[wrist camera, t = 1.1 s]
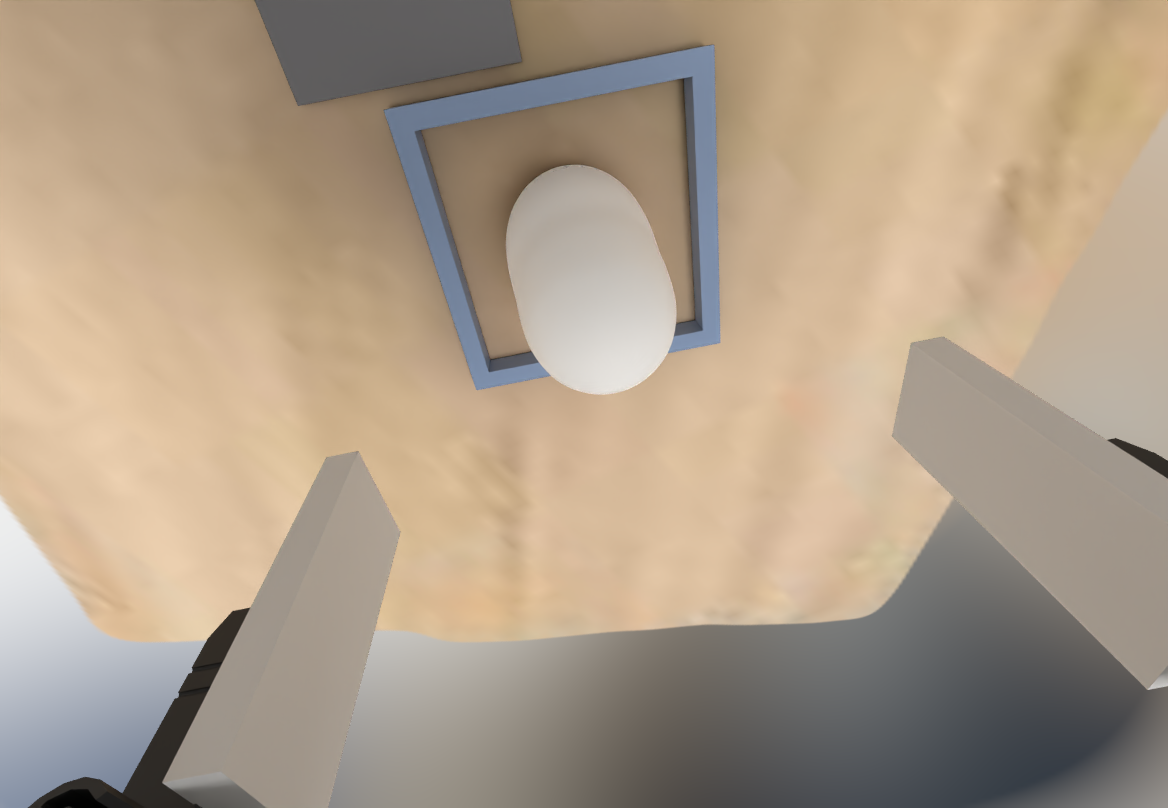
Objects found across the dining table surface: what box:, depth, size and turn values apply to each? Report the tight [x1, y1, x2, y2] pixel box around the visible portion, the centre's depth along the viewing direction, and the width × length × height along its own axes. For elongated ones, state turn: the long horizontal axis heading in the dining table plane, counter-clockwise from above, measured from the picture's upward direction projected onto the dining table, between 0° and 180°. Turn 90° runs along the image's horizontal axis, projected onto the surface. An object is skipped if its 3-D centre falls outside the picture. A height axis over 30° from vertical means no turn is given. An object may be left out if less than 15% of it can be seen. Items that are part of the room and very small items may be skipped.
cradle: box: [384, 45, 720, 390], centre depth 27 cm, size 14×14×2 cm
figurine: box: [506, 165, 676, 395], centre depth 23 cm, size 7×8×12 cm
